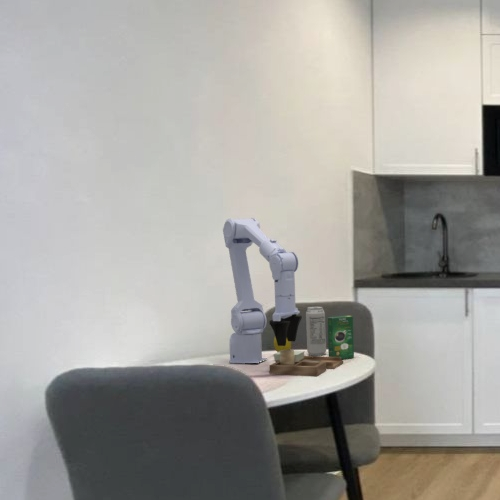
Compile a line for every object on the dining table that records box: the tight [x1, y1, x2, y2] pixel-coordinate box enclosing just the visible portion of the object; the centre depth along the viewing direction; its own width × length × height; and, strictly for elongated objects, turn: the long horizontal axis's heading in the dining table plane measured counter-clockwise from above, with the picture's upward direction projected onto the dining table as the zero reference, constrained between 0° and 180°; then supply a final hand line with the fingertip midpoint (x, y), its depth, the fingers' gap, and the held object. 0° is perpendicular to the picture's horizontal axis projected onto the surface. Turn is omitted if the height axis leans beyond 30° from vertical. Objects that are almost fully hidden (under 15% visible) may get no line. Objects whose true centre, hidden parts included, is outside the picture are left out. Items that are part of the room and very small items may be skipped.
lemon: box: [273, 336, 292, 353], centre depth 230 cm, size 6×6×8 cm
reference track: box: [274, 355, 344, 370], centre depth 213 cm, size 18×9×2 cm, turn 66°
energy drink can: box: [305, 306, 327, 356], centre depth 230 cm, size 6×6×15 cm
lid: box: [272, 350, 305, 362], centre depth 216 cm, size 7×7×3 cm
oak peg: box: [280, 349, 295, 366], centre depth 204 cm, size 4×4×6 cm
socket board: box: [268, 360, 327, 377], centre depth 203 cm, size 14×8×2 cm, turn 66°
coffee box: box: [327, 315, 355, 360], centre depth 220 cm, size 8×3×13 cm, turn 118°
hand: (286, 343), depth 204 cm, fingers open, 7 cm apart
